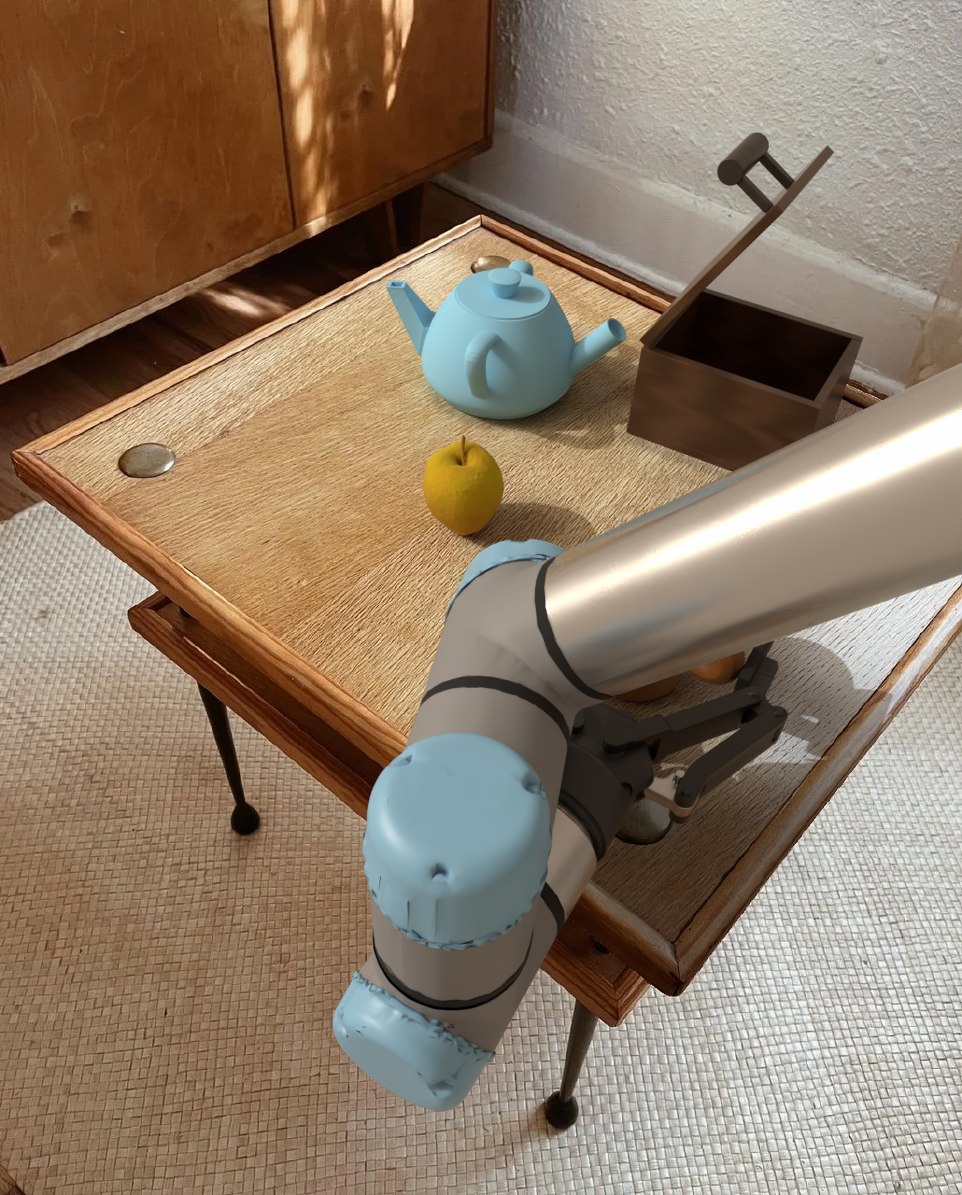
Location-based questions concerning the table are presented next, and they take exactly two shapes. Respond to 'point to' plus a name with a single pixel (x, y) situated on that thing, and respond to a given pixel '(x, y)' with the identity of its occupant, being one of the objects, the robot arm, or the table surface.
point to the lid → (735, 173)
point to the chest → (739, 380)
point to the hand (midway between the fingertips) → (687, 591)
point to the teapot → (499, 342)
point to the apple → (463, 486)
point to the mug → (708, 673)
